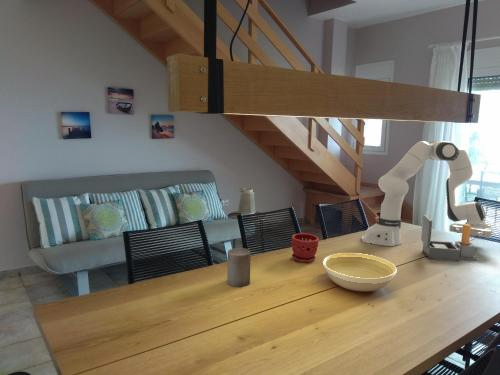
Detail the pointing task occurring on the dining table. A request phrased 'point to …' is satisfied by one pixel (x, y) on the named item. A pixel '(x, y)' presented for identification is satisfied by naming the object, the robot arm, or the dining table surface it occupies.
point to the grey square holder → (466, 251)
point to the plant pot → (304, 247)
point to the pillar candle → (238, 267)
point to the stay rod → (465, 234)
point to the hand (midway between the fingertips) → (467, 233)
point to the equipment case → (437, 245)
